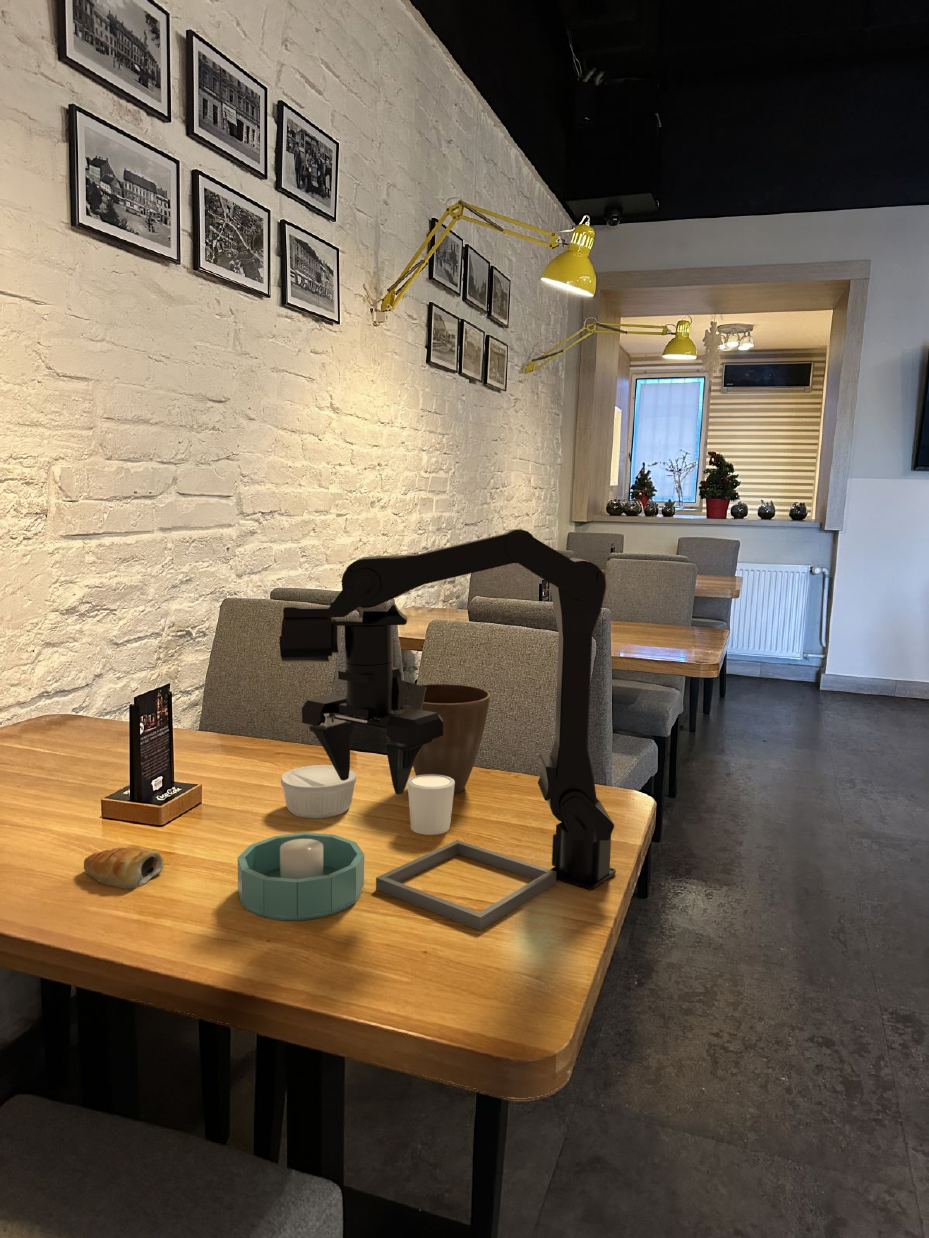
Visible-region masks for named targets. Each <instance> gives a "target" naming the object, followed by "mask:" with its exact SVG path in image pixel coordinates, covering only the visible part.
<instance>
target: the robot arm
mask: <svg viewBox="0 0 929 1238" xmlns="http://www.w3.org/2000/svg"><path fill="white" fill-rule="evenodd" d="M511 564H518V565H520V566H521V567H523V568H524V569H526V570H528V571H530V572H531V573H533V574H534V575H535V576H537V577H538V578H541V579H543V581H545V582H547V583H549V587H550V593H551V600H552V601H551V602H552V606H553V612H554V617H555V620H556V622H555V623H556V626H557V632H558V641H557V642H558V645H557V646H558V647H557V648H558V649H557V669H556V670H557V672H556V703H555V723H554V724H555V726H554V727H555V728H554V741H553V746H552V748H551V751H550V754H549V755H547V754H544V753H542V754H541V753H540V754H539V764H540V774H539V775H540V776H539V779H538V780H537V785H538V787H539V789H540V792H541V794H542V797H543V799H544V801H545V802H547V804H548V807H549V808H550V811H551V813H552V815H553V816H554V818H556V819H557V821H559V823H557V824H555V833H554V834H553V835H552V843H551V844H552V845H551V846H552V848H551V866H553V867H552V868H551V869H549V870H552V871H555V872H556V880H561V881H564V882H567V883H569V884H572V885H577V886H579V887H582V888H585V889H587V890H588V889H589V890H592V889H595V888H597V887H598V886H599V885H601V884H602V883H604V882H605V881H607V880H608V879H611V877H613V876H614V875H615V874H617V873H616V871H617V870H616V869H615V868H612V867H611V854H612V853H611V851H612V850H611V849H612V833H613V831H614V829H615V824H614V822H613V820H612V818H611V816H610V815H609V813H608V811H607V810H606V809H605V807H604V805H603V804H602V802H601V801H600V800H599V799H598V797H597V792H596V791H597V790H596V785H595V777H594V773H593V767H592V763H591V758H590V752H589V728H590V727H589V726H590V725H589V722H590V702H591V701H590V700H591V680H592V679H591V676H592V674H591V673H592V655H593V654H592V652H593V650H592V649H593V636H594V632H595V630H596V627H597V625H598V621H599V618H600V616H601V613H602V608H603V605H604V604H603V603H604V600H605V594H606V590H607V582H606V581H607V580H606V577H605V573H604V572H603V571H602V570H601V569H600V567H599V566H598V565H596V564H595V563H593V562H591V561H588V560H585V559H581V558H575V557H572V558H569V557H567V556H565V555H564V554H562V553H561V552H559V551H557V550H556V549H554V548H552V547H551V546H549V545H547V544H545V543H544V542H542V541H541V540H539V539H537V538H536V537H534V536H533V534H532V533H530V532H529V530H525V529H521V528H514V529H513V528H512V529H510V530H508V531H506V532H505V533H501V534H497V535H492V536H487V537H485V538H480V539H476V540H471V541H467V542H463V543H459V544H455V545H450V546H447V547H446V546H445V547H440V548H437V549H434V550H430V551H425V552H420V553H417V554H416V553H414V554H393V555H391V554H390V555H388V554H387V555H376V556H375V555H373V556H362V557H361V558H358V559H356V560H355V561H353V562H352V563H350V564H349V565H348V566H347V567H346V569H345V570H344V572H343V573H342V578H341V591H340V592H339V593H338V595H337V596H336V597H334V598H333V599H332V600H331V601H330V604H329V606H305V607H304V606H299V605H286V606H285V607H284V608H282V609H283V610H282V612H283V613H282V616H283V618H282V622H281V628H280V629H281V633H280V635H279V651H280V652H279V653H280V658H281V662H282V663H330V662H331V661H332V657H333V654H336V655H337V654H340V653H341V644H342V643H341V642H342V641H341V638H342V637H341V627H343V626H344V655H345V656H344V657H345V659H344V660H345V662H344V667H345V669H341V670H338V671H337V672H338V674H337V676H338V680H341V681H345V696H343V695H337V694H328V695H324V696H320V697H315V698H311V699H307V700H306V701H305V703H304V704H303V706H302V708H301V722H302V723H303V724H306V725H310V726H309V727H308V730H309V731H310V732H313V734H314V735H315V737H316V738H317V740H318V742H319V743H320V745H321V746H322V748H323V750H324V752H325V753H326V755H327V757H328V759H329V761H330V762H331V765H333V766H334V768H335V770H336V772H337V774H338V776H339V778H340V779H341V780H343V781H344V780H347V779H348V778H349V771H350V770H351V735H352V733H353V731H354V729H355V727H356V725H357V724H360V725H364V726H370V727H375V728H380V729H383V730H386V731H385V732H386V733H385V735H386V736H387V737H388V739H389V740H390V741H388V742H386V743H384V744H385V751H386V757H387V760H388V761H387V762H388V766H389V767H388V768H389V772H390V777H391V782H392V787H393V790H394V793H395V795H397V796H399V795H402V794H404V792H405V789H406V787H407V785H408V783H407V781H408V779H409V778H410V776H411V772H412V769H413V764H414V761H415V759H416V757H417V755H418V753H419V751H420V749H421V748H422V747H423V746H424V745H425V744H427V743H430V742H433V740H434V738H437V737H440V736H443V720H442V718H441V717H440V715H439V714H438V713H436V712H430V711H425V710H422V706H423V702H424V697H425V692H426V687H424V686H421V685H422V684H417V683H414V682H411V681H407V680H406V681H405V680H403V679H402V671H401V668H400V667H393V665H394V664H393V663H394V661H393V660H394V659H393V657H394V656H393V626H405V625H407V623H408V619H409V618H408V616H407V615H405V614H404V613H403V612H402V611H401V610H400V609H399V608H398V606H397V604H396V603H392V604H391V605H390V606H389V608H388V609H386V610H385V609H383V610H381V609H380V610H379V609H376V610H375V609H374V610H369V609H368V610H363V611H362V617H349V618H345V617H347V616H348V615H350V614H352V612H354V611H356V610H357V609H358V608H362V609H363V608H364V609H367V608H374V607H377V606H379V605H382V604H385V603H386V602H389V601H390V600H392V599H395V598H398V597H399V596H402V595H404V594H406V593H408V592H411V591H413V590H414V589H417V588H418V587H421V586H424V585H427V584H431V583H435V582H441V581H444V580H448V579H452V578H457V577H461V576H465V575H470V574H473V573H477V572H482V571H486V570H490V569H494V568H499V567H502V566H503V567H504V566H507V565H511ZM405 707H408V708H414V710H410V711H407V712H403V713H401V710H404V709H405ZM395 711H397V712H400V713H397V714H396V713H394V712H395Z"/></svg>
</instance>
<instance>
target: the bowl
mask: <svg viewBox="0 0 929 1238" xmlns="http://www.w3.org/2000/svg"><path fill="white" fill-rule="evenodd" d="M295 839H313V840H317V841H320V842H321V843H322V844H323V876H317V877H310V878H303V879H289V878H280V846H281V845H282V844H284V843H285V842H288V841H291V840H295ZM364 886H365V853H364V851H363V850H362V849H361V847H360V846H359V845H358V842H356V841H354V840H352V839H348V838H345V837H342V836H340V835H337V834H333V833H332V834H330V833H318V832H298V833H289V834H283V835H282V834H281V835H276V836H275V835H274V836H271V837H268V838H266V839H263V840H261V841H258V842H254V843H252V844H250V845H248V847H246V849H244V850H243V852H241V853H240V854H239V855H238V856H237V890H238V894H239V902H240V903H241V905H242V907H243V908H244V909H245V910H247V911H248V912H250V913H251V914H254V915H256V916H259V917H262V918H266V919H271V920H278V921H289V922H291V921H307V920H315V919H320V918H324V917H328V916H332V915H335V914H338V913H340V912H342V911H345V910H346V909H348V908H350V907H352V906H353V905H354V904H355V903H357V901H358V900H359V899H360V898H361V895H362V891H363V888H364Z"/></svg>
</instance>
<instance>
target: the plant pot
mask: <svg viewBox="0 0 929 1238" xmlns="http://www.w3.org/2000/svg"><path fill="white" fill-rule="evenodd" d="M420 685H421V686H424V687H426V692H425V697H424V702H423V706H422V710H425V711H430V712H436V713H438V714H439V715H440V717H441V718H442V720H443V736H440V737H437V738H434V740H433V742H430V743H427V744H425V745H424V746H423V747H422V748H421V749H420V751H419V753H418V755H417V757H416V759H415V761H414V764H413V767H412V769H413V771H414V774H415V776H417V775H424V774H436V775H444V776H447V777H450V778H452V779H454V781H455V786H454V794H459V793H460V792H462V791H463V790H464V789H466V786H467V783H468V780H469V778H470V776H471V773H472V772H473V767H474V765H475V763H476V759H477V755H478V752H479V749H480V747H481V742H482V738H483V734H484V731H485V726H486V722H487V721H486V720H487V716H488V710H489V704H490V699H491V698H490V697H491V694H490V692H489V691H488V690H485V689H484V688H481V687H477V686H472V685H465V684H456V683H455V684H454V683H450V684H449V683H434V684H433V683H432V684H431V683H428V684H420ZM410 710H414V708H408V707H405V709H404V710H401V711H400V713H403V712H407V711H410Z"/></svg>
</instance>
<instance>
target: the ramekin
mask: <svg viewBox="0 0 929 1238" xmlns="http://www.w3.org/2000/svg"><path fill="white" fill-rule="evenodd" d="M356 782H357V773H356V771H354V770H352V769H350V771H349V778H348V779H347V780H344V781H343V780H341V779H340V778H339V776H338V774H337V772H336V770H335V768H334V766H333V764H318V765H306V766H302V767H301V766H300V767H295V768H293V769H290V770H288V771H286V772H284V773H283V775H282V776H281V777H280V785H281V787H282V788H283V794H284V799H285V804H286V808H287V809H288V811H290V813H291V814H293V815H295V816H296V817H300V818H304V819H305V818H306V819H325V818H326V819H327V818H333V817H335V816H339V815H341V814H344V813H345V812H347V810H348V809H349V808H350V807H351V805H352V801H353V796H354V790H355V784H356Z"/></svg>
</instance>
